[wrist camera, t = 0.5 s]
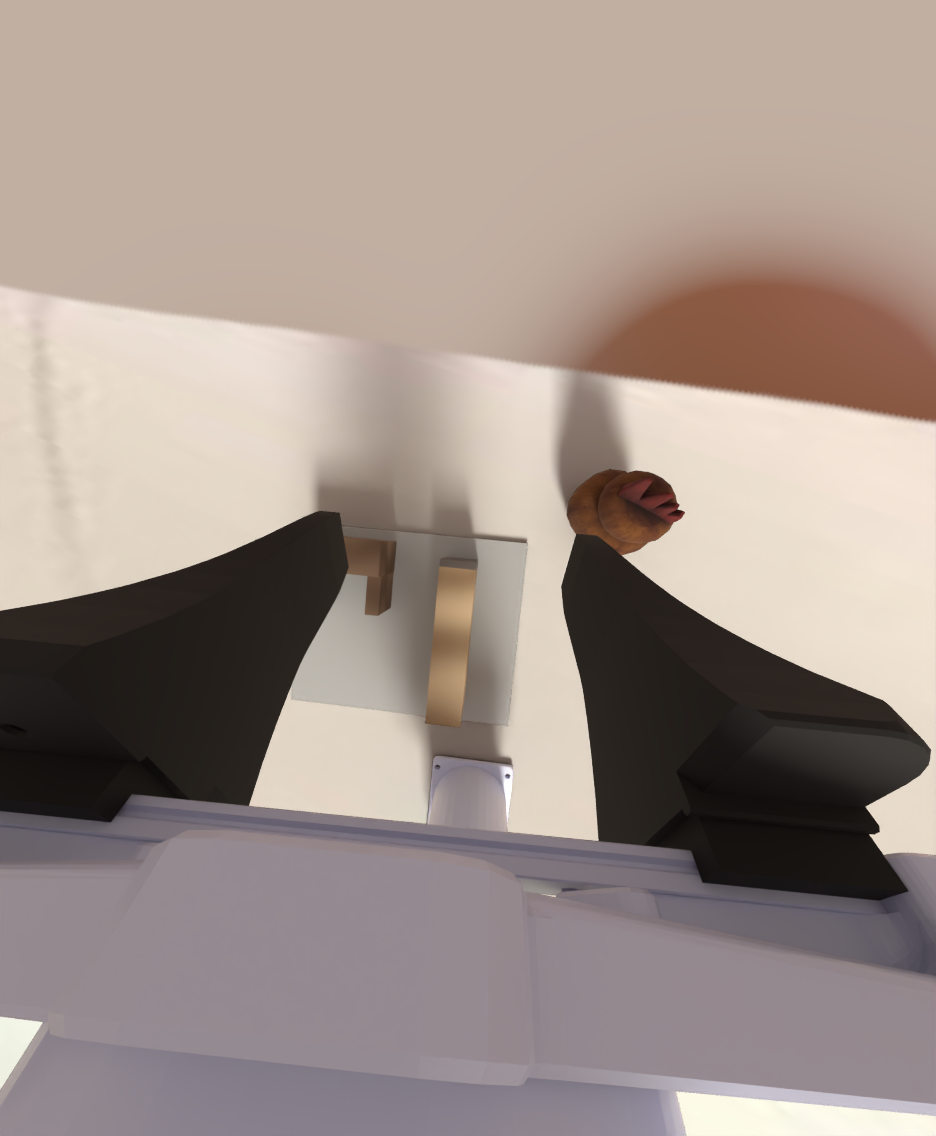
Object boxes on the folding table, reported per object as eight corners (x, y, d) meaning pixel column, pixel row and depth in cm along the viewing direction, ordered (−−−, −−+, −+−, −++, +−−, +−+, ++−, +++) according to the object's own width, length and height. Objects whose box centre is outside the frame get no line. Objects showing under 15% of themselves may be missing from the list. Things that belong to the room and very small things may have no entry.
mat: (507, 724, 35) (507, 726, 35) (293, 697, 36) (291, 699, 36) (527, 543, 34) (527, 543, 33) (303, 521, 35) (301, 521, 34)
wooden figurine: (547, 508, 33) (595, 481, 18) (597, 469, 33) (688, 409, 18) (591, 564, 34) (674, 582, 19) (641, 526, 33) (768, 514, 18)
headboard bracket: (391, 607, 35) (374, 618, 30) (321, 600, 35) (294, 609, 30) (396, 541, 34) (381, 541, 29) (326, 534, 34) (298, 532, 29)
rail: (464, 701, 35) (460, 727, 30) (434, 697, 35) (425, 723, 30) (478, 559, 34) (476, 562, 29) (447, 556, 34) (439, 559, 29)
